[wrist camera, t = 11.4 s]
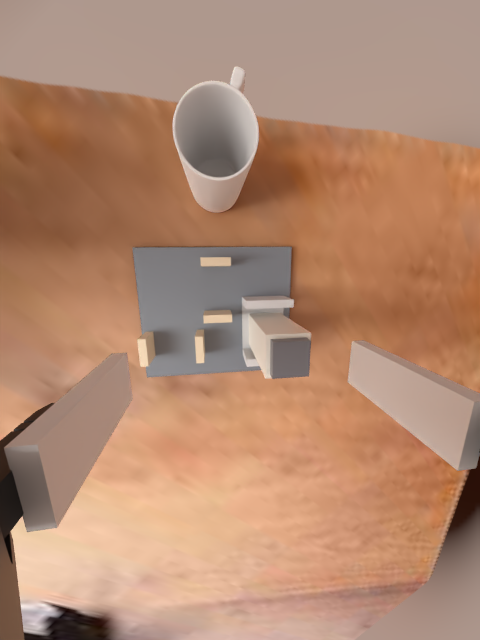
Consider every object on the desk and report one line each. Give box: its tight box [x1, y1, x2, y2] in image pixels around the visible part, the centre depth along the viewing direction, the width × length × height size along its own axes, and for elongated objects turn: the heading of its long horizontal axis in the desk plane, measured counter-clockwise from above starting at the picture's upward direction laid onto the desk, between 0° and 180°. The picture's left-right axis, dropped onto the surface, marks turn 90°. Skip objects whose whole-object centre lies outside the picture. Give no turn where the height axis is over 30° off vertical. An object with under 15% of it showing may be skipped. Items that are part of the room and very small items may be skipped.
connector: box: [249, 313, 311, 379], centre depth 27 cm, size 4×4×12 cm
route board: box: [133, 247, 294, 377], centre depth 30 cm, size 21×18×5 cm
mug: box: [173, 66, 259, 213], centre depth 23 cm, size 10×7×12 cm, turn 158°
